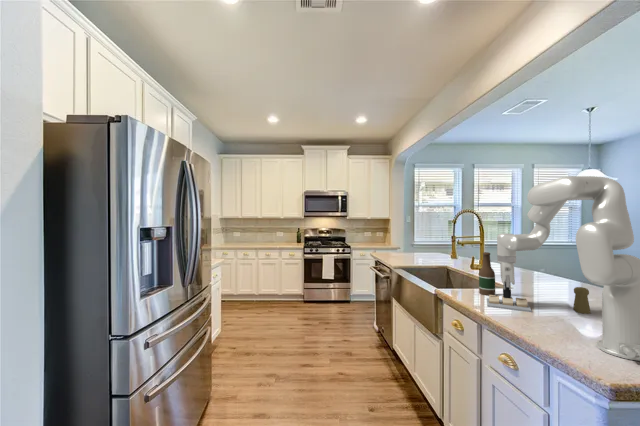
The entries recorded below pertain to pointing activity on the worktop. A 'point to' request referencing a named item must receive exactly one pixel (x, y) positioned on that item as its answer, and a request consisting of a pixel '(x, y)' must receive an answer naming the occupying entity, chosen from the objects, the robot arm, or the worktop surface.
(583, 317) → the worktop surface
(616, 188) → the robot arm
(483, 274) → the beer bottle
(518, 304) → the key
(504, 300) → the key
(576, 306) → the cork
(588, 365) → the worktop surface
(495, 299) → the key
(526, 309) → the board
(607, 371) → the worktop surface
